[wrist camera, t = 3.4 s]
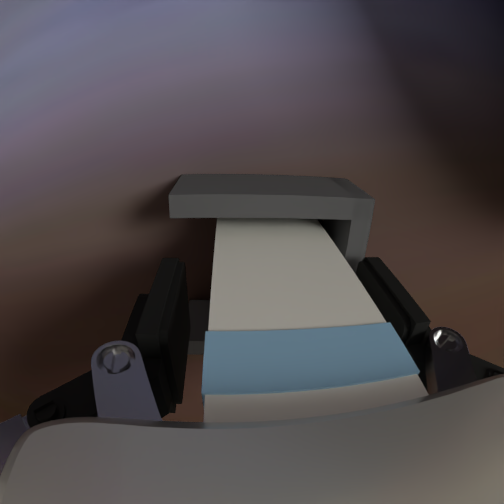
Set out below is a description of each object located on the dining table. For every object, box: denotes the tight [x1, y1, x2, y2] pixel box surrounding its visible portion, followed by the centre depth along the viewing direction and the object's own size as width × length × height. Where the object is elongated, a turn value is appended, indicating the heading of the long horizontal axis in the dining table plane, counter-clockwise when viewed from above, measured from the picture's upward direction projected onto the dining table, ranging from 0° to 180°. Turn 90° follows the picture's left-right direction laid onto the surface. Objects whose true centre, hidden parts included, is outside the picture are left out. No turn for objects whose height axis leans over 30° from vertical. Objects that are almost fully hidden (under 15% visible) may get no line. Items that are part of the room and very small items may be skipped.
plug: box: [202, 218, 429, 422], centre depth 10 cm, size 4×4×10 cm
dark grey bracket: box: [169, 174, 375, 354], centre depth 13 cm, size 7×7×3 cm
